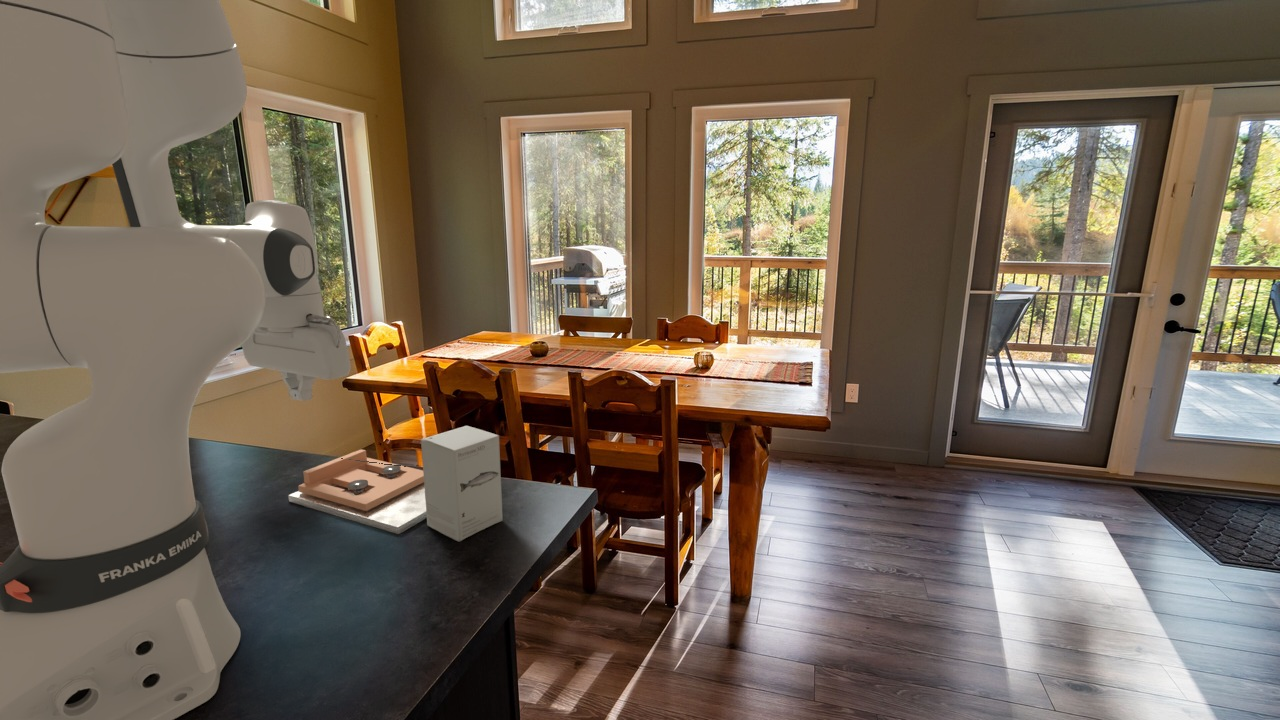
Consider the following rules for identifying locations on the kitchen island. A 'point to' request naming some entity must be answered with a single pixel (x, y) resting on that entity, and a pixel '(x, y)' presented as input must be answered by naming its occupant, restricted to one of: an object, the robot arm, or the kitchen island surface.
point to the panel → (352, 470)
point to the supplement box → (462, 481)
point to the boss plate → (384, 516)
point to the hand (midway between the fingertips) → (301, 399)
